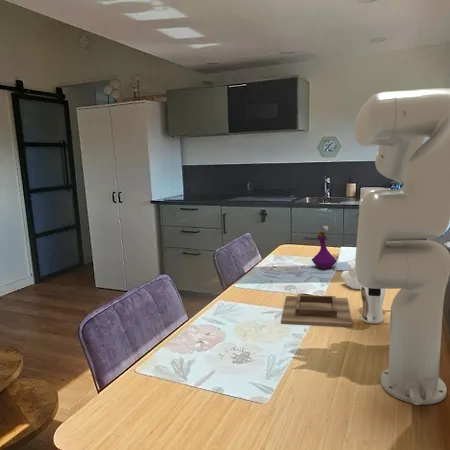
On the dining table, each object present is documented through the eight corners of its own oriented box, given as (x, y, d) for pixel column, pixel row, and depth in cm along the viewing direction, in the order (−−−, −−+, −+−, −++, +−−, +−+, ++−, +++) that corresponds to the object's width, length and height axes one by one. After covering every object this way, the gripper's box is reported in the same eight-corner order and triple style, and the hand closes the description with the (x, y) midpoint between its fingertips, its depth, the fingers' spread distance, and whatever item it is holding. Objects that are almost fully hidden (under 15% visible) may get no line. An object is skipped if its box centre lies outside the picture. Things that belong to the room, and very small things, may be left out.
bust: (340, 290, 149) (332, 272, 143) (347, 274, 153) (339, 255, 146) (372, 297, 142) (365, 278, 135) (379, 279, 145) (372, 260, 139)
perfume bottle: (311, 267, 172) (310, 225, 169) (325, 264, 176) (325, 223, 172) (322, 271, 166) (322, 228, 162) (336, 268, 169) (337, 226, 165)
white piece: (386, 324, 115) (388, 274, 112) (361, 323, 116) (361, 273, 114) (382, 315, 122) (383, 266, 119) (358, 314, 123) (358, 266, 120)
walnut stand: (352, 327, 115) (352, 317, 114) (281, 323, 119) (280, 313, 118) (347, 300, 134) (347, 292, 133) (286, 298, 138) (286, 290, 138)
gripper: (393, 239, 105) (390, 301, 109) (383, 225, 122) (381, 279, 125) (362, 239, 107) (361, 300, 110) (356, 225, 123) (355, 278, 127)
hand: (372, 289), depth 118 cm, fingers open, 9 cm apart
